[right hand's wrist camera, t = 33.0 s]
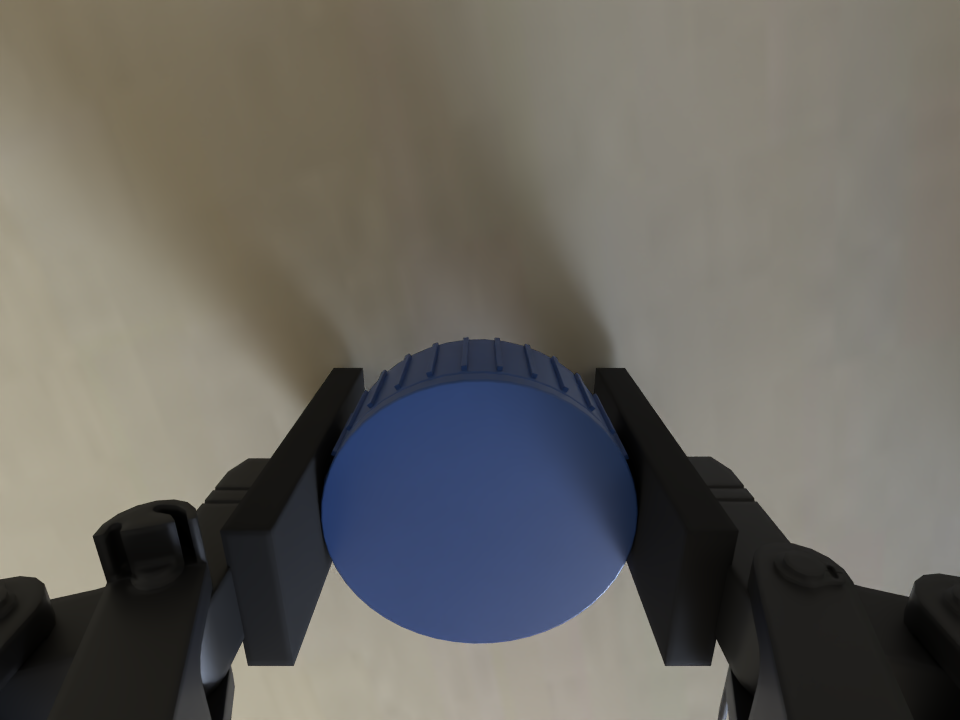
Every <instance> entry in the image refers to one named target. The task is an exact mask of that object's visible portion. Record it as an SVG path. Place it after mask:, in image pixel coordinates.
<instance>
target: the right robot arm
mask: <svg viewBox="0 0 960 720" xmlns="http://www.w3.org/2000/svg"><path fill="white" fill-rule="evenodd" d="M364 391H365V390H364V378H363V368H334V369H333V370H332V372H331V373H330V374H329V376H328V377H327V379H326V380H325V382H324V383H323V384H322V386H321V387H320V389H319V390H318V391H317V393H316V394H315V396H314V397H313V399H312V400H311V401H310V403H309V404H308V406H307V407H306V409H305V410H304V411H303V413H302V414H301V416H300V417H299V419H298V420H297V421H296V423H295V424H294V426H293V427H292V429H291V430H290V431H289V433H288V434H287V436H286V437H285V439H284V440H283V441H282V443H281V444H280V446H279V447H278V449H277V450H276V451H275V453H274V454H273V456H272V457H271V458H248V459H247V460H245V461H244V462H242V463H241V464H239V465H238V466H236V467H235V468H233V469H231V470H230V471H228V472H227V474H226V475H225V476H224V477H223V479H222V480H221V481H220V482H219V484H218V485H217V486H216V487H215V490H213V491H212V492H211V493H210V495H209V496H208V497H207V498H206V500H205V504H202V505H201V506H200V507H199V508H198V510H197V511H196V508H194V507H193V506H192V505H190V504H189V503H188V502H184V501H179V500H160V501H153V502H149V503H146V504H142V505H138V506H135V507H133V508H131V509H128V510H126V511H124V512H121V513H119V514H117V515H116V516H114V517H113V518H112V519H110V520H109V521H107V522H106V523H104V524H103V525H102V526H101V527H100V528H99V529H98V531H97V532H96V533H95V534H94V535H93V539H94V542H95V545H96V549H97V552H98V555H99V558H100V561H101V565H102V568H103V571H104V574H105V577H106V580H107V584H106V586H105V587H103V588H100V589H96V590H91V591H87V592H82V593H78V594H73V595H69V596H64V597H60V598H55V599H51V600H50V598H49V595H48V593H47V590H46V587H45V584H44V583H42V582H41V581H40V580H38V579H37V578H34V577H24V576H18V577H12V578H6V579H0V720H231V715H232V706H233V697H234V688H235V686H234V679H233V673H232V668H231V664H232V662H233V660H234V658H235V656H236V654H237V652H238V650H239V648H240V646H241V644H242V641H243V644H244V649H245V654H246V658H247V663H248V666H294V664H295V661H296V658H297V655H298V653H299V650H300V647H301V645H302V642H303V639H304V636H305V634H306V631H307V628H308V626H309V623H310V620H311V617H312V615H313V612H314V609H315V607H316V604H317V601H318V598H319V596H320V593H321V590H322V588H323V585H324V582H325V579H326V577H327V574H328V571H329V569H330V566H331V563H332V559H331V557H330V555H329V552H328V549H327V546H326V543H325V540H324V536H323V530H322V523H321V498H322V492H323V486H324V478H325V476H326V474H327V472H328V470H329V467H330V465H331V463H332V461H333V459H334V457H335V456H332V455H331V453H332V451H333V449H334V447H335V445H336V443H337V441H338V439H339V437H340V435H341V433H342V431H343V429H344V427H345V425H346V423H347V421H348V419H349V417H350V415H351V413H353V412H354V410H355V408H356V406H357V404H358V402H359V400H360V398H361V396H362V394H363V392H364ZM595 393H596V395H597V396H598V398H599V400H600V402H601V404H602V406H603V408H604V410H605V412H606V414H607V416H608V417H609V419H610V421H611V423H612V425H613V427H614V429H615V431H616V433H617V435H618V437H619V439H620V441H621V443H622V445H623V447H624V449H625V451H626V453H627V455H628V457H629V459H627V460H626V461H627V464H628V466H629V469H630V471H631V474H632V477H633V480H634V482H635V483H634V484H635V489H636V493H637V505H638V517H637V527H636V533H635V537H634V541H633V545H632V548H631V550H630V553H629V555H628V558H627V560H626V561H627V564H628V566H629V569H630V572H631V574H632V577H633V580H634V583H635V585H636V588H637V591H638V593H639V596H640V599H641V602H642V604H643V607H644V610H645V612H646V615H647V618H648V620H649V623H650V626H651V629H652V631H653V634H654V637H655V639H656V642H657V645H658V648H659V650H660V653H661V656H662V658H663V661H664V664H665V666H711V662H712V657H713V653H714V648H715V643H716V639H717V641H718V643H719V645H720V647H721V649H722V651H723V653H724V655H725V657H726V659H727V661H728V663H729V668H728V673H727V677H726V682H725V686H724V691H723V695H722V699H721V704H720V709H719V715H718V720H726V717H727V713H728V714H729V720H960V577H957V576H951V575H945V574H929V575H923V576H922V577H920V578H919V579H918V580H916V581H915V583H914V585H913V588H912V591H911V594H910V596H909V597H906V596H902V595H897V594H893V593H888V592H883V591H879V590H874V589H870V588H865V587H861V586H858V585H854V583H853V581H852V580H851V579H850V577H849V576H848V574H847V573H846V572H845V570H844V569H843V568H842V567H840V566H839V565H838V564H836V563H835V562H834V561H833V560H831V559H830V558H829V557H827V556H825V555H823V554H821V553H819V552H817V551H815V550H813V549H810V548H807V547H803V546H800V545H796V544H793V543H790V542H789V541H788V539H787V538H786V537H785V536H784V534H783V533H782V532H781V531H780V529H779V528H778V527H777V526H776V525H775V523H774V522H773V521H772V520H771V518H770V517H769V516H768V515H767V513H766V512H765V511H764V510H763V509H762V507H761V506H760V505H759V504H758V502H755V501H754V498H753V496H752V495H751V494H750V493H749V491H748V490H747V489H744V485H743V484H742V483H741V482H740V480H739V479H738V478H737V477H736V475H735V474H734V473H733V472H732V470H730V469H729V468H727V467H726V466H724V465H723V464H721V463H720V462H718V461H716V460H715V459H713V458H712V457H687V456H686V455H685V453H684V452H683V450H682V449H681V447H680V446H679V445H678V443H677V442H676V440H675V439H674V437H673V436H672V435H671V433H670V432H669V430H668V429H667V427H666V426H665V425H664V423H663V422H662V420H661V419H660V417H659V416H658V415H657V413H656V412H655V410H654V409H653V407H652V406H651V405H650V403H649V402H648V400H647V399H646V397H645V396H644V395H643V393H642V392H641V390H640V389H639V387H638V386H637V385H636V383H635V382H634V380H633V379H632V378H631V376H630V375H629V373H628V372H627V370H626V369H625V368H596V376H595V388H594V394H595Z"/></svg>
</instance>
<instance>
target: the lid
mask: <svg viewBox="0 0 960 720" xmlns="http://www.w3.org/2000/svg"><path fill="white" fill-rule="evenodd" d="M331 455H332V456H335V457H334V459H333V461H332V463H331V465H330V467H329V470H328V472H327V474H326V476H325V478H324V486H323V492H322V498H321V523H322V530H323V536H324V540H325V543H326V546H327V549H328V552H329V555H330V557H331V559H332V561H333V563H334V565H335V567H336V569H337V571H338V572H339V574H340V575H341V577H342V578H343V580H344V581H345V583H346V584H347V585H348V586H349V587H350V588H351V589H352V591H353V592H354V593H355V594H356V595H357V596H358V597H359V598H360V599H361V600H362V601H363V602H365V603H366V604H367V605H368V606H369V607H370V608H372V609H373V610H374V611H376V612H377V613H379V614H380V615H382V616H383V617H385V618H386V619H388V620H390V621H392V622H394V623H396V624H397V625H399V626H401V627H404V628H406V629H409V630H411V631H414V632H416V633H418V634H422V635H425V636H429V637H432V638H436V639H441V640H447V641H452V642H462V643H497V642H505V641H512V640H517V639H521V638H526V637H530V636H533V635H536V634H539V633H542V632H545V631H548V630H550V629H552V628H554V627H556V626H559V625H561V624H563V623H565V622H566V621H568V620H570V619H571V618H573V617H575V616H577V615H578V614H580V613H581V612H582V611H584V610H585V609H586V608H588V607H589V606H590V605H592V604H593V603H594V602H595V601H596V600H597V599H598V598H599V597H600V596H601V595H602V594H603V593H604V592H605V591H606V590H607V589H608V588H609V586H610V585H611V584H612V583H613V581H614V580H615V579H616V577H617V576H618V574H619V572H620V571H621V569H622V567H623V566H624V564H625V562H626V560H627V558H628V555H629V553H630V550H631V548H632V545H633V541H634V537H635V533H636V527H637V517H638V505H637V493H636V489H635V484H634V483H635V482H634V480H633V477H632V474H631V471H630V469H629V466H628V464H627V461H626V460H627V459H629V457H628V455H627V453H626V451H625V449H624V447H623V445H622V443H621V441H620V439H619V437H618V435H617V433H616V431H615V429H614V427H613V425H612V423H611V421H610V419H609V417H608V416H607V414H606V412H605V410H604V408H603V406H602V404H601V402H600V400H599V398H598V396H597V395H596V393H595V394H593V395H592V394H591V392H590V391H589V390H588V389H587V387H586V386H585V385H584V383H583V381H582V379H581V376H580V375H579V374H578V373H576V374H575V375H574V374H573V373H572V372H571V371H570V370H568V369H567V368H566V367H564V366H563V365H561V364H560V363H559V362H558V359H557V358H556V357H555V356H552V358H550V357H548V356H546V355H544V354H543V353H541V352H538V351H536V350H533V349H531V348H530V345H527V344H525V345H524V346H522V345H518V344H513V343H509V342H505V341H500V338H495V339H494V340H486V339H481V340H469V338H468V337H466V338H463V340H462V341H455V342H448V343H445V344H441V345H439V344H438V343H434V344H433V347H430V348H428V349H425V350H423V351H421V352H418V353H416V354H414V355H412V356H411V355H410V354H408V355H406V356H405V358H404V360H403V361H402V362H400V363H398V364H397V365H395V366H394V367H393V368H392V369H390V370H389V371H388V372H387V371H386V370H384V371H383V372H382V373H381V375H380V377H379V379H378V381H377V382H376V383H375V384H374V385H373V386H372V388H371V389H370V390H369V392H368V391H366V390H365V391H364V392H363V394H362V396H361V398H360V400H359V402H358V404H357V406H356V408H355V410H354V412H353V413H351V415H350V417H349V419H348V421H347V423H346V425H345V427H344V429H343V431H342V433H341V435H340V437H339V439H338V441H337V443H336V445H335V447H334V449H333V451H332V453H331Z"/></svg>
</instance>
